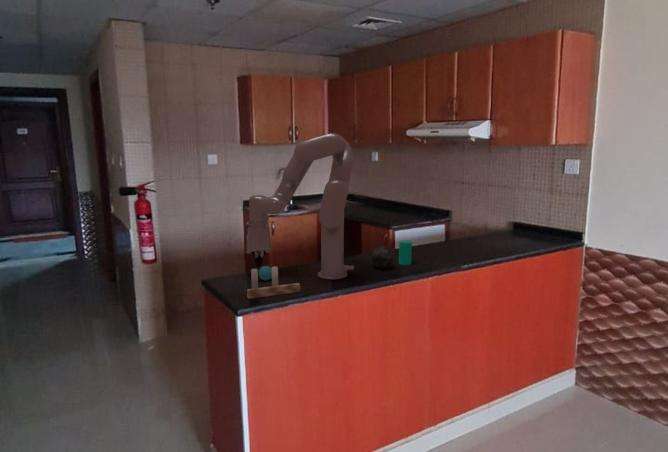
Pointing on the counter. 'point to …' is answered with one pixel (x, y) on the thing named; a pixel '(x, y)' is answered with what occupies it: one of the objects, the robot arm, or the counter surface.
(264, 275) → the ball
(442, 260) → the counter surface
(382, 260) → the decorative stone
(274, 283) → the cream pin
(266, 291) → the oak rail
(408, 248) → the candle
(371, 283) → the counter surface
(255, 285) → the grey pin
